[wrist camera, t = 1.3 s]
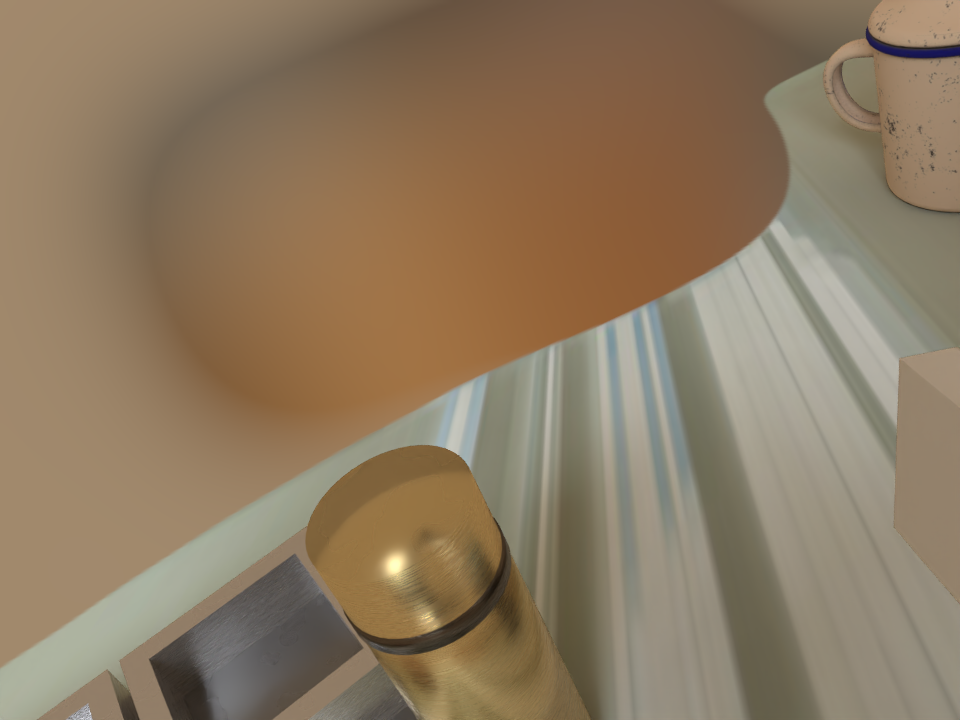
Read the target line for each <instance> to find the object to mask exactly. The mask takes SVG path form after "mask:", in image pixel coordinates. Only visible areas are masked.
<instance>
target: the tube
mask: <svg viewBox="0 0 960 720" xmlns="http://www.w3.org/2000/svg"><path fill="white" fill-rule="evenodd" d="M305 544H306V551H307V554H308V557H309V559H310V561H311V562H312V564H313V565H314V567H315V568H316V570H317V571H318V573H319V574H320V576H321V577H322V579H323V580H324V582H325V583H326V585H327V586H328V588H329V589H330V591H331V592H332V594H333V595H334V597H335V598H336V599H337V601H338V602H339V604H340V605H341V607H342V608H343V611H344V614H345V616H346V617H347V619H348V621H349V622H350V624H351V625H352V627H353V628H354V630H355V631H356V633H357V634H358V636H359V637H360V638H361V639H362V640H363V641H364V642H365V643H366V644H367V645H368V647H369V648H370V650H371V651H372V653H373V654H374V656H375V657H376V659H377V660H378V662H379V663H380V665H381V666H382V667H383V669H384V670H385V672H386V673H387V675H388V676H389V678H390V679H391V681H392V682H393V684H394V685H395V687H396V688H397V690H398V691H399V693H400V694H401V696H402V697H403V699H404V700H405V702H406V703H407V704H408V706H409V707H410V709H411V710H412V712H413V713H414V715H415V716H416V718H417V719H418V720H591V718H590V715H589V713H588V711H587V709H586V707H585V705H584V703H583V701H582V699H581V697H580V695H579V693H578V691H577V689H576V687H575V685H574V683H573V681H572V678H571V676H570V674H569V672H568V670H567V668H566V666H565V664H564V662H563V660H562V658H561V656H560V654H559V652H558V650H557V648H556V646H555V644H554V642H553V639H552V637H551V635H550V633H549V631H548V629H547V627H546V625H545V623H544V621H543V619H542V617H541V615H540V613H539V611H538V609H537V607H536V605H535V602H534V600H533V598H532V596H531V594H530V592H529V590H528V588H527V586H526V584H525V582H524V580H523V578H522V576H521V574H520V572H519V570H518V568H517V566H516V563H515V561H514V559H513V557H512V555H511V553H510V549H509V546H508V543H507V541H506V539H505V537H504V535H503V532H502V530H501V528H500V526H499V524H498V523H497V521H496V520H495V518H494V517H493V516H492V514H491V512H490V510H489V508H488V506H487V504H486V502H485V500H484V498H483V496H482V494H481V492H480V490H479V487H478V485H477V483H476V481H475V479H474V477H473V475H472V473H471V471H470V469H469V467H468V466H467V464H466V463H465V461H464V460H463V459H462V458H461V457H460V456H459V455H457V454H456V453H454V452H452V451H450V450H448V449H445V448H442V447H438V446H430V445H417V446H408V447H402V448H398V449H395V450H391V451H388V452H385V453H383V454H380V455H378V456H376V457H373V458H371V459H369V460H367V461H366V462H364V463H362V464H360V465H359V466H357V467H356V468H354V469H352V470H351V471H350V472H348V473H347V474H346V475H344V476H343V477H342V478H341V479H340V480H339V481H337V482H336V483H335V484H334V485H333V486H332V487H331V488H330V489H329V490H328V492H327V493H326V494H325V495H324V496H323V498H322V499H321V500H320V502H319V503H318V505H317V506H316V508H315V510H314V512H313V514H312V516H311V518H310V521H309V523H308V526H307V531H306V539H305Z"/></svg>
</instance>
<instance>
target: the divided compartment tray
mask: <svg viewBox="0 0 960 720" xmlns="http://www.w3.org/2000/svg"><path fill="white" fill-rule="evenodd" d="M306 531H307V526H306V527H305V528H304V529H302V530H301V531H299V532H298V533H297V534H295V535H294V536H292V537H291V538H290V539H288V540H287V541H285V542H284V543H283V544H281V545H280V546H278V547H277V548H276V549H274V550H273V551H271V552H270V553H269V554H267V555H266V556H265V557H263V558H262V559H260V560H259V561H258V562H256V563H255V564H253V565H252V566H251V567H249V568H248V569H246V570H245V571H244V572H242V573H241V574H239V575H238V576H237V577H235V578H234V579H232V580H231V581H230V582H228V583H227V584H226V585H224V586H223V587H221V588H220V589H219V590H217V591H216V592H214V593H213V594H212V595H210V596H209V597H207V598H206V599H205V600H203V601H202V602H200V603H199V604H198V605H196V606H195V607H193V608H192V609H191V610H189V611H188V612H186V613H185V614H184V615H182V616H181V617H180V618H178V619H177V620H175V621H174V622H173V623H171V624H170V625H168V626H167V627H166V628H164V629H163V630H161V631H160V632H159V633H157V634H156V635H154V636H153V637H152V638H150V639H149V640H147V641H146V642H145V643H143V644H142V645H140V646H139V647H138V648H136V649H135V650H134V651H132V652H131V653H129V654H128V655H127V656H125V657H124V658H122V659H121V660H120V664H121V667H122V670H123V673H124V676H125V679H126V681H127V684H128V687H129V690H130V692H129V691H128V690H127V689H126V688H125V687H124V686H123V685H122V684H121V683H120V682H119V681H118V680H117V679H116V678H115V677H114V676H113V675H112V674H111V672H110V671H109V670H108V669H107V670H106V671H104V672H103V673H101V674H100V675H99V676H97V677H96V678H94V679H93V680H92V681H90V682H89V683H88V684H86V685H85V686H83V687H82V688H81V689H79V690H78V691H76V692H75V693H74V694H72V695H71V696H69V697H68V698H67V699H65V700H64V701H62V702H61V703H60V704H58V705H57V706H55V707H54V708H53V709H51V710H50V711H48V712H47V713H46V714H44V715H43V716H42V717H40V718H39V719H37V720H418V719H417V718H416V716H415V715H414V713H413V712H412V710H411V709H410V707H409V706H408V704H407V703H406V702H405V700H404V699H403V697H402V696H401V694H400V693H399V691H398V690H397V688H396V687H395V685H394V684H393V682H392V681H391V679H390V678H389V676H388V675H387V673H386V672H385V670H384V669H383V667H382V666H381V665H380V663H379V662H378V660H377V659H376V657H375V656H374V654H373V653H372V651H371V650H370V648H369V647H368V645H367V644H366V643H365V642H364V641H363V640H362V639H361V638H360V637H359V636H358V634H357V633H356V631H355V630H354V628H353V627H352V625H351V624H350V622H349V621H348V619H347V617H346V616H345V614H344V611H343V608H342V607H341V605H340V604H339V602H338V601H337V599H336V598H335V597H334V595H333V594H332V592H331V591H330V589H329V588H328V586H327V585H326V583H325V582H324V580H323V579H322V577H321V576H320V574H319V573H318V571H317V570H316V568H315V567H314V565H313V564H312V562H311V561H310V559H309V557H308V554H307V551H306V544H305V539H306Z"/></svg>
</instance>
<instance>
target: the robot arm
mask: <svg viewBox="0 0 960 720" xmlns="http://www.w3.org/2000/svg"><path fill="white" fill-rule="evenodd" d="M894 528H895V529H896V530H897V532H898V533H899V534H900V535H901V536H902V537H903V539H904V540H905V541H906V542H907V543H908V544H909V546H910V547H911V548H912V549H913V550H914V551H915V553H916V554H917V555H918V556H919V557H920V558H921V560H922V561H923V562H924V563H925V564H926V565H927V567H928V568H929V569H930V570H931V571H932V572H933V574H934V575H935V576H936V577H937V578H938V579H939V581H940V582H941V583H942V584H943V585H944V586H945V588H946V589H947V590H948V591H949V592H950V593H951V595H952V596H953V597H954V598H955V599H956V600H957V602H958V603H959V604H960V349H959V348H957V347H954V348H949V349H944V350H939V351H934V352H929V353H924V354H919V355H914V356H909V357H904V358H899V386H898V416H897V445H896V475H895V504H894Z"/></svg>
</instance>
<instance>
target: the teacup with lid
mask: <svg viewBox="0 0 960 720" xmlns="http://www.w3.org/2000/svg"><path fill="white" fill-rule="evenodd" d="M860 57H874V65H875V74H876V84H877V94H878V103H879V113H874V112H870V111H867V110H865V109H863V108H862V107H860V106H859V105H858V104H857V103H856V102H855V101H854V100H853V99H852V98H851V96H850V95H849V93H848V92H847V90H846V88H845V85H844V82H843V78H842V65H843V62H844V61H846V60H848V59H852V58H860ZM823 82H824V88H825V92H826V95H827V98H828V100H829V102H830V104H831V105H832V107H833V108H834V110H835V111H836V112H837V114H838V115H839V116H840V117H841V118H842V119H843V120H844V121H846V122H847V123H848V124H850V125H852V126H853V127H856V128H858V129H861V130H865V131H870V132H879V133H882V142H883V151H884V161H885V171H886V180H887V183H888V186H889V187H890V189H891V191H892V192H893V193H894V194H895V195H896V196H897V197H899V198H900V199H902V200H903V201H905V202H907V203H909V204H912V205H914V206H917V207H921V208H925V209H930V210H935V211H944V212H960V0H883V1H881V2H880V3H879V4H878V6H877V7H876V8H875V9H874V11H873V12H872V14H871V16H870V18H869V21H868V26H867V29H866V39H859V40H854V41H851V42H849V43H847V44H845V45H843V46H842V47H841V48H839V49H838V50H837V51H836V52H835V53H834V54H833V55H832V56H831V57H830V59H829V60H828V62H827V63H826V66H825V69H824V75H823Z"/></svg>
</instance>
